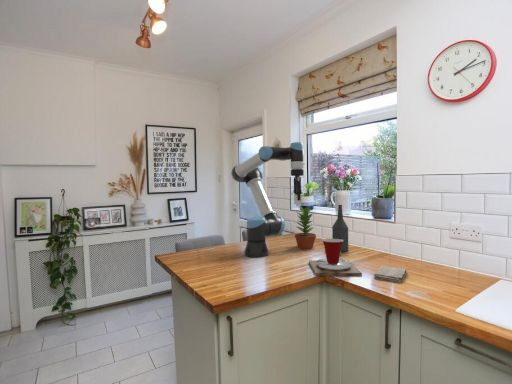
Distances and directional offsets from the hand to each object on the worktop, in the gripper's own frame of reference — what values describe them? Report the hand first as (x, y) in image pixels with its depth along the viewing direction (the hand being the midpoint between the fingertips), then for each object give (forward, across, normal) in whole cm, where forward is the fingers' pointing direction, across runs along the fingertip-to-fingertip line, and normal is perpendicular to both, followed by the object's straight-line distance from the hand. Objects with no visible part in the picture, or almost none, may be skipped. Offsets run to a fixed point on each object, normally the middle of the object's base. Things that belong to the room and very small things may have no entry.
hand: (297, 205), depth 170 cm
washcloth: (+32, -31, -41) cm, 61 cm away
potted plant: (+32, +28, -8) cm, 43 cm away
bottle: (+32, +20, -30) cm, 48 cm away
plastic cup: (+28, -20, -16) cm, 38 cm away
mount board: (+32, -21, -16) cm, 41 cm away
